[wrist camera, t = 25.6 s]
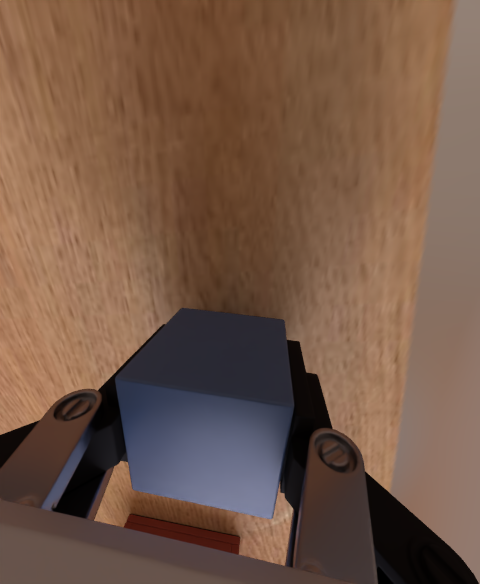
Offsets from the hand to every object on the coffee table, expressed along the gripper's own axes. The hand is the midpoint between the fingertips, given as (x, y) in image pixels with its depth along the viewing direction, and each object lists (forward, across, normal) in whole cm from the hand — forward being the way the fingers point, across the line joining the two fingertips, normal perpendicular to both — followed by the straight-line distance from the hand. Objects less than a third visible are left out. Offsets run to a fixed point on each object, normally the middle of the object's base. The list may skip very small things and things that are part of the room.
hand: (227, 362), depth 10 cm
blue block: (0, 0, 0) cm, 0 cm away
